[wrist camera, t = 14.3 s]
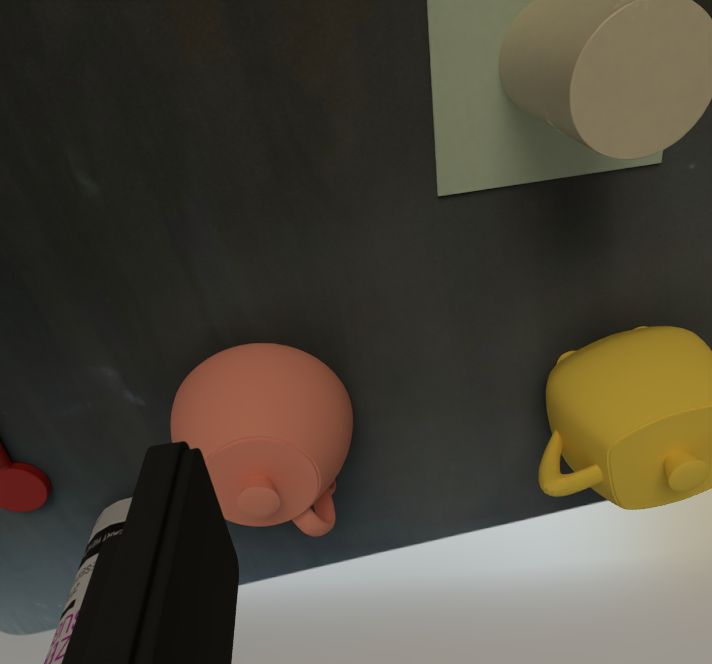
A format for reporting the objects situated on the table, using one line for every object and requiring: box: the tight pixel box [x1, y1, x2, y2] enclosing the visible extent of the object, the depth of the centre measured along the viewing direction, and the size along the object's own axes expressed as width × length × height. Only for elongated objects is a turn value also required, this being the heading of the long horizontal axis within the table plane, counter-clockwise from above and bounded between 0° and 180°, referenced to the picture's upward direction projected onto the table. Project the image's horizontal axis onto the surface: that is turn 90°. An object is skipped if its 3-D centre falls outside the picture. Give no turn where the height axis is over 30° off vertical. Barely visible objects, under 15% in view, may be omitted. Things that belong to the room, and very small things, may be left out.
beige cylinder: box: [499, 0, 712, 160], centre depth 29 cm, size 6×6×10 cm
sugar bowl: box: [171, 343, 353, 537], centre depth 40 cm, size 12×14×10 cm
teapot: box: [538, 326, 712, 510], centre depth 41 cm, size 18×11×11 cm, turn 110°
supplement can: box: [44, 497, 132, 664], centre depth 42 cm, size 8×8×15 cm
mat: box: [427, 0, 663, 196], centre depth 34 cm, size 14×14×1 cm
